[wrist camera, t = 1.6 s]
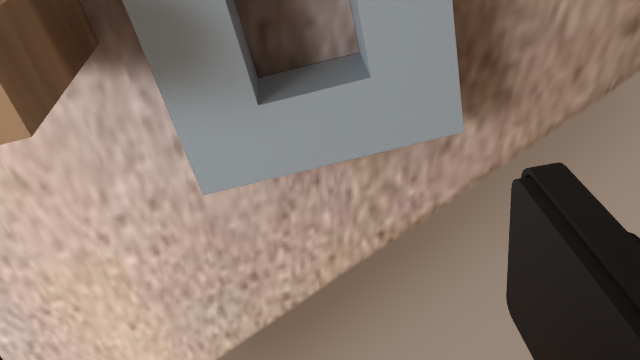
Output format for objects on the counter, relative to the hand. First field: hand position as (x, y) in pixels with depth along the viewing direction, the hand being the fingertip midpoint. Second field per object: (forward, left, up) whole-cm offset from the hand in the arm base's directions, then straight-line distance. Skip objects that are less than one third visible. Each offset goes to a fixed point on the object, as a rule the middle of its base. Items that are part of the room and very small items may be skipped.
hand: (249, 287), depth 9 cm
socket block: (-2, +2, -21) cm, 21 cm away
